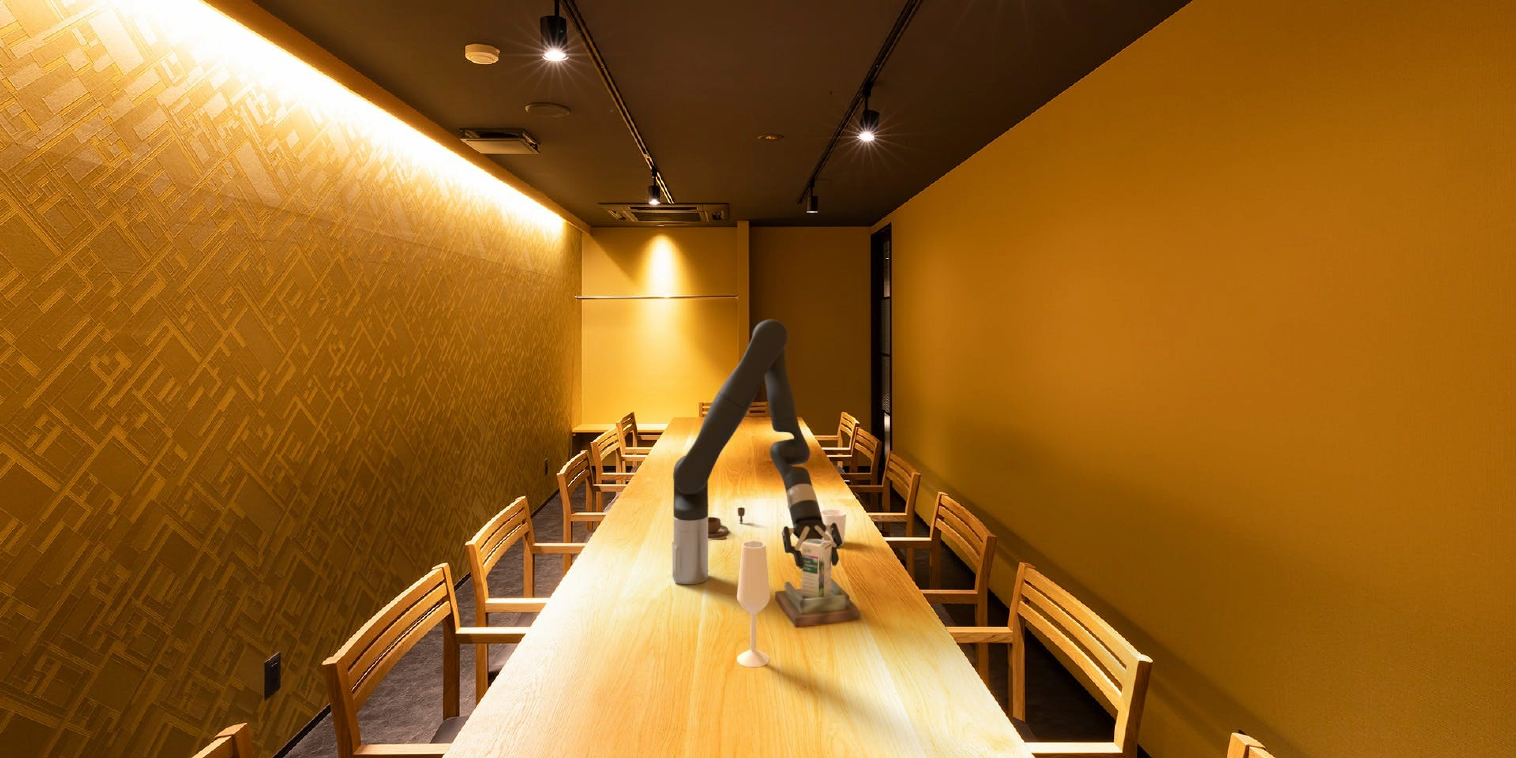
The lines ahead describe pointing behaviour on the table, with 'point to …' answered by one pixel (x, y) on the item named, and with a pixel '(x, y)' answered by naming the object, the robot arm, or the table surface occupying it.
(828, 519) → the white cup
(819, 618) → the dock
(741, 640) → the table surface
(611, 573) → the table surface
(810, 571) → the syrup box
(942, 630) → the table surface
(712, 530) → the place setting
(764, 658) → the champagne flute
